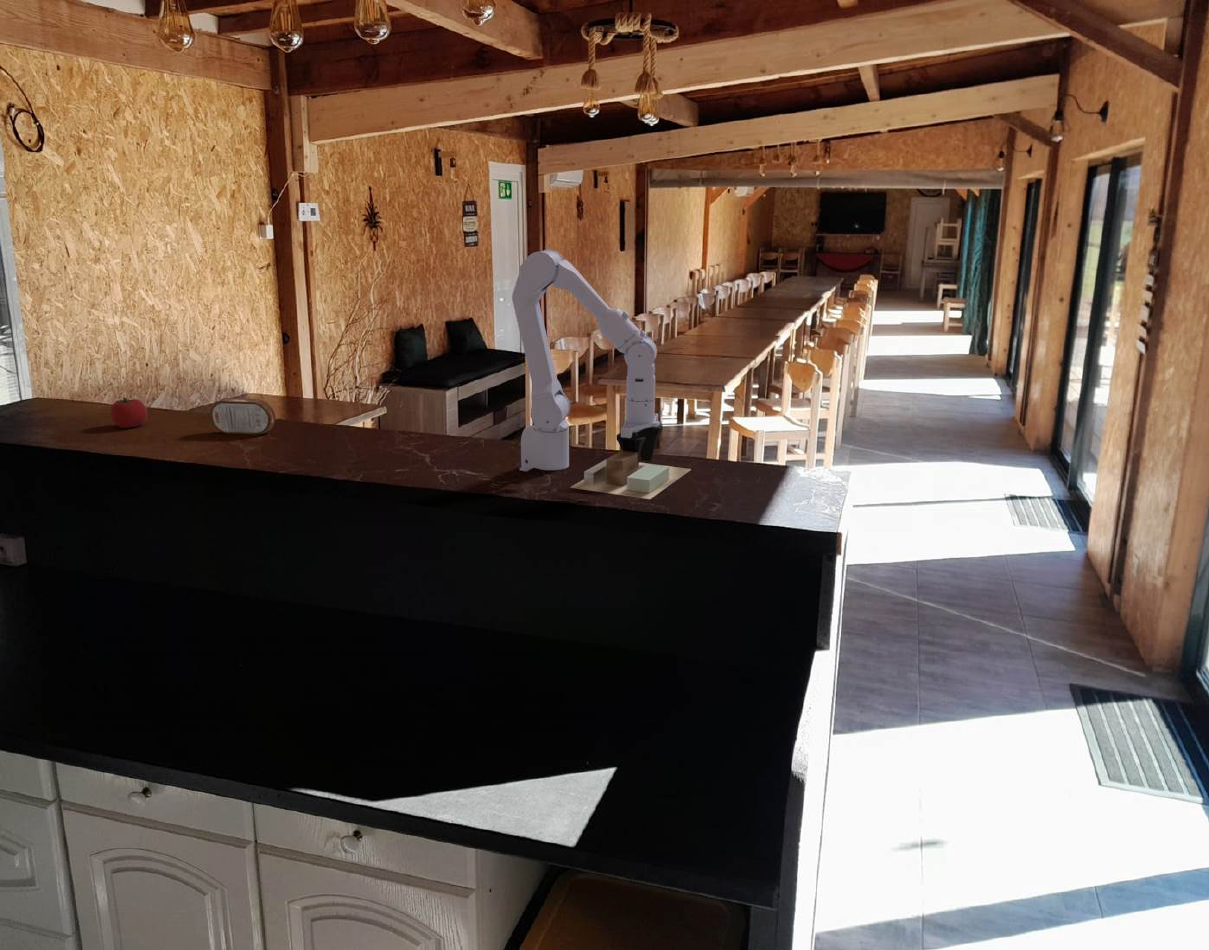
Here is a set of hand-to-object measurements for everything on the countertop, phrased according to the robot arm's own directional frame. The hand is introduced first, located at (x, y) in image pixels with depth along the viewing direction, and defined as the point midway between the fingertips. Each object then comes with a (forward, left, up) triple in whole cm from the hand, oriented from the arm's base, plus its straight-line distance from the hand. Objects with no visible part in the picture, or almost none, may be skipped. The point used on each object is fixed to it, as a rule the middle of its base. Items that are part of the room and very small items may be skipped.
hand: (639, 464), depth 191 cm
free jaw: (+6, -9, -1) cm, 11 cm away
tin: (-98, -10, -2) cm, 98 cm away
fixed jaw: (-5, -9, -2) cm, 10 cm away
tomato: (-128, -17, -2) cm, 129 cm away
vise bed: (+1, -6, -2) cm, 7 cm away
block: (0, -9, -1) cm, 9 cm away
